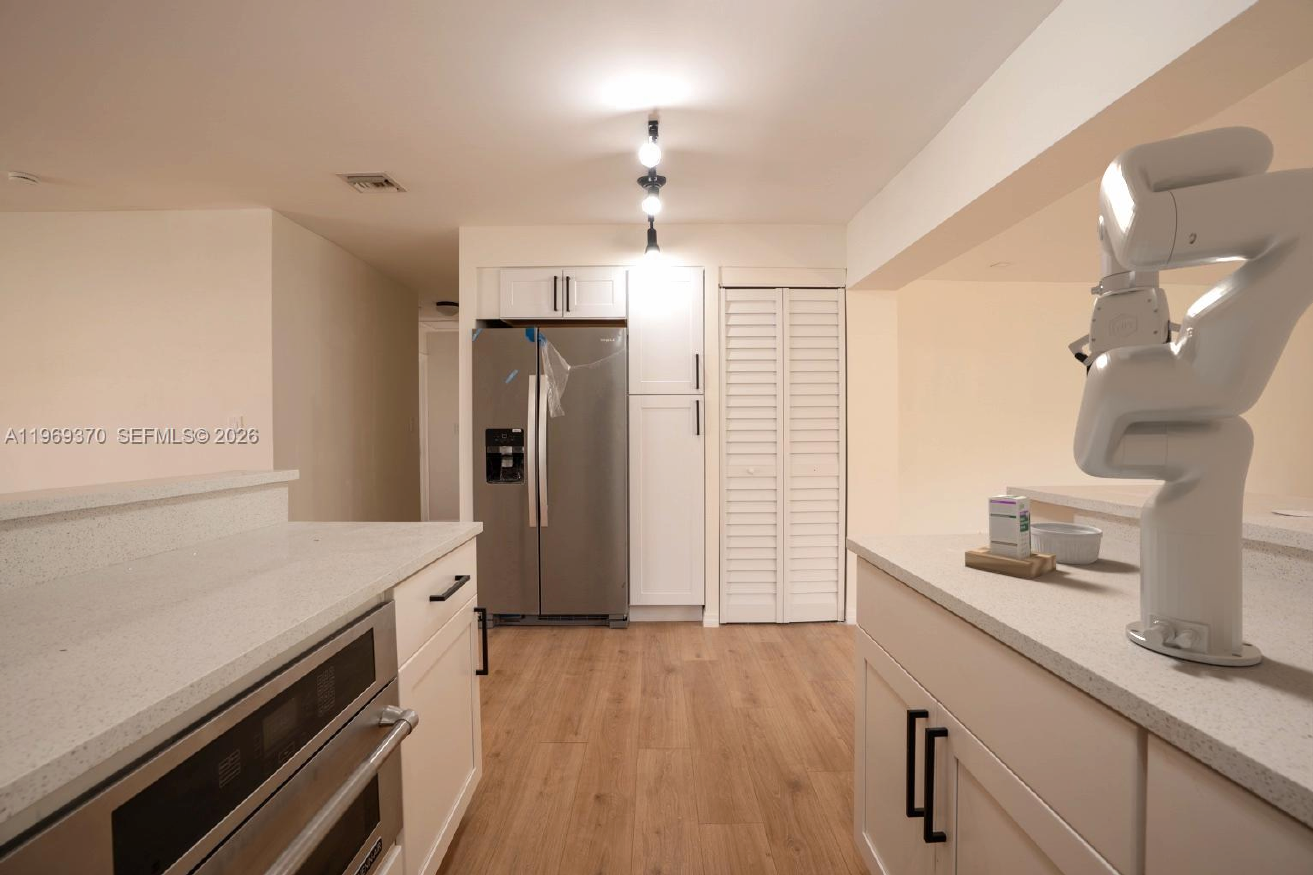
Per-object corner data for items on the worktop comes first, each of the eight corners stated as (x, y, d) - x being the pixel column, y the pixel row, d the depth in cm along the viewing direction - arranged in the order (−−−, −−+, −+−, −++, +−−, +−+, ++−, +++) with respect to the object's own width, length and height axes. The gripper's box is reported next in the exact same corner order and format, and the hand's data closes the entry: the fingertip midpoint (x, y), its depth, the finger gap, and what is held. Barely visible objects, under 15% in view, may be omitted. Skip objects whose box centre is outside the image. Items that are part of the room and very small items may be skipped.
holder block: (1029, 579, 101) (1029, 563, 101) (965, 566, 111) (965, 552, 111) (1056, 569, 108) (1056, 554, 108) (993, 557, 118) (993, 544, 118)
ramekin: (1100, 569, 107) (1100, 535, 107) (1022, 559, 116) (1022, 528, 116) (1104, 557, 117) (1104, 526, 117) (1032, 549, 126) (1032, 520, 126)
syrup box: (1020, 570, 105) (1020, 498, 105) (988, 564, 110) (987, 496, 110) (1032, 566, 109) (1031, 496, 109) (1000, 560, 114) (999, 493, 113)
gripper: (1060, 295, 96) (1061, 389, 96) (1192, 270, 82) (1193, 380, 82) (1077, 300, 100) (1078, 390, 100) (1206, 277, 86) (1206, 382, 86)
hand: (1129, 385), depth 91 cm, fingers open, 9 cm apart
